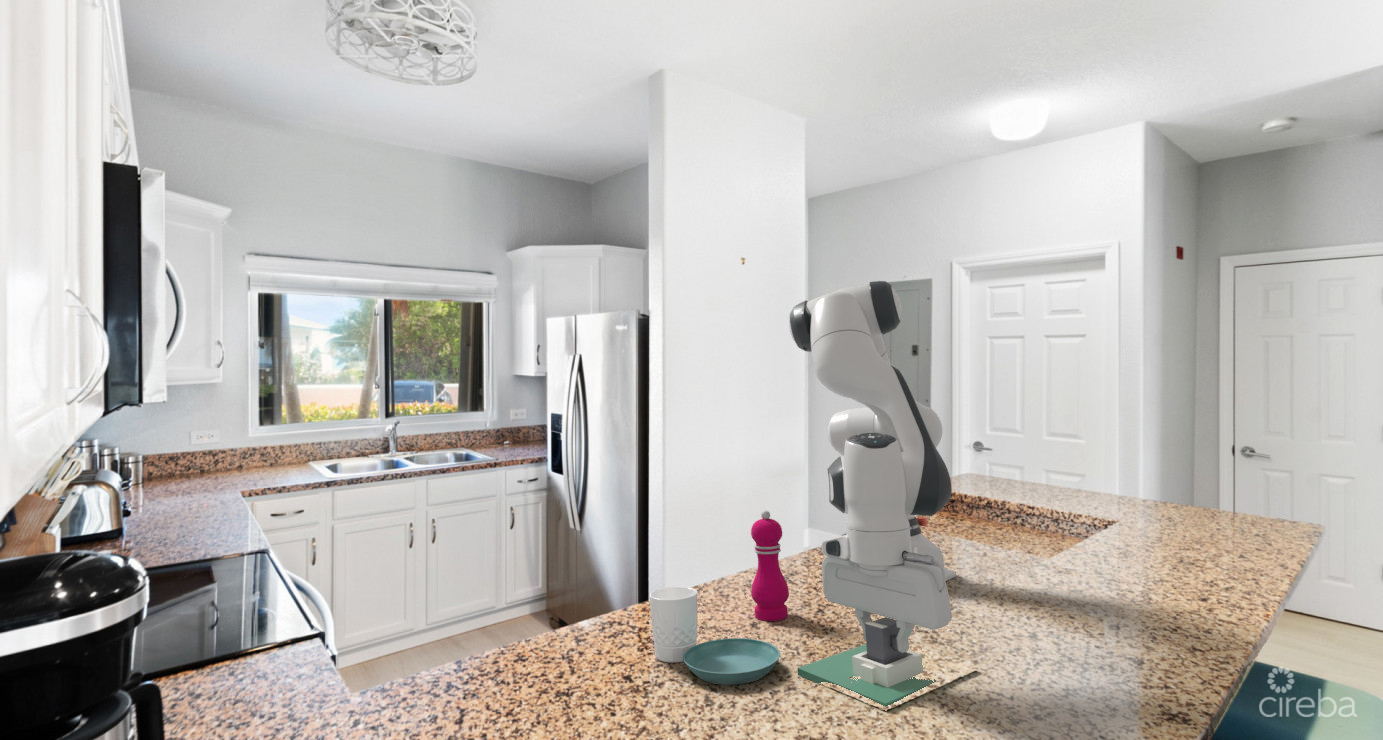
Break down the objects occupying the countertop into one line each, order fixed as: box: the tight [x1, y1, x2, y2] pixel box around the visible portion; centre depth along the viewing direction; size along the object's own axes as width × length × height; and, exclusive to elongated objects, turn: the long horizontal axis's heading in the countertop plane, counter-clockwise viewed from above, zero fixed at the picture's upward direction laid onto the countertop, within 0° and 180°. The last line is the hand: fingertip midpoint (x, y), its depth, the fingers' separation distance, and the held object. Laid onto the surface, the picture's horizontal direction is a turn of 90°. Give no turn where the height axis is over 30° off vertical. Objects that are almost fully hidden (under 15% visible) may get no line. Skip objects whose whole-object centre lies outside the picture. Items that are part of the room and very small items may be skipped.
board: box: [796, 643, 936, 707], centre depth 95 cm, size 20×16×4 cm
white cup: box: [649, 586, 699, 664], centre depth 107 cm, size 8×8×10 cm
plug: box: [865, 617, 905, 665], centre depth 93 cm, size 4×3×7 cm, turn 125°
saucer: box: [683, 637, 781, 686], centre depth 99 cm, size 15×15×3 cm
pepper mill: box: [750, 510, 790, 622], centre depth 126 cm, size 7×7×20 cm
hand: (886, 646), depth 93 cm, fingers open, 4 cm apart
